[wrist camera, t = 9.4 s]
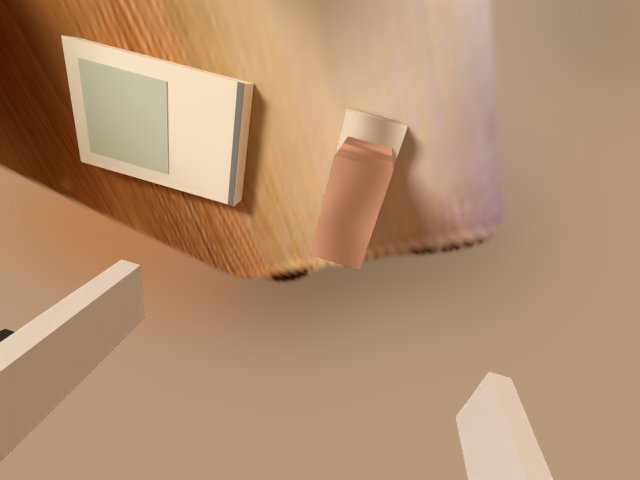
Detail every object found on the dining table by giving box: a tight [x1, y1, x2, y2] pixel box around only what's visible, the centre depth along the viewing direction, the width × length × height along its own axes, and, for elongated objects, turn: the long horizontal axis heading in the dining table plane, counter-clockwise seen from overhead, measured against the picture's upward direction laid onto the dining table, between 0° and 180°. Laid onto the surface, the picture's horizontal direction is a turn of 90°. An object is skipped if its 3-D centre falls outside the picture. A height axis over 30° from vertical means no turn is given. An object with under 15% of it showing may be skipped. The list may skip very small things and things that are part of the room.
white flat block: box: [61, 35, 254, 206], centre depth 32 cm, size 18×12×2 cm, turn 77°
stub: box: [311, 109, 408, 270], centre depth 27 cm, size 5×12×10 cm, turn 167°
